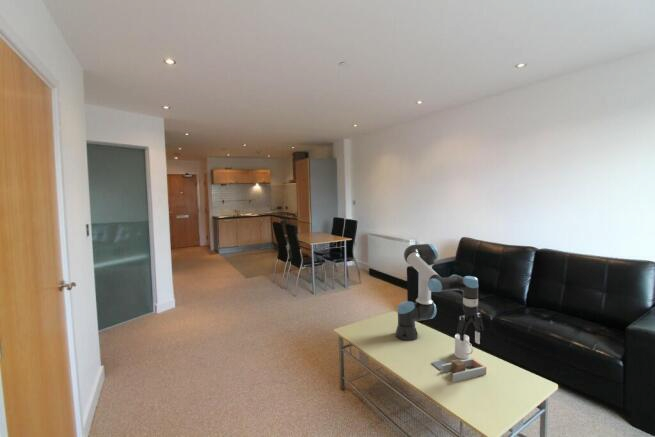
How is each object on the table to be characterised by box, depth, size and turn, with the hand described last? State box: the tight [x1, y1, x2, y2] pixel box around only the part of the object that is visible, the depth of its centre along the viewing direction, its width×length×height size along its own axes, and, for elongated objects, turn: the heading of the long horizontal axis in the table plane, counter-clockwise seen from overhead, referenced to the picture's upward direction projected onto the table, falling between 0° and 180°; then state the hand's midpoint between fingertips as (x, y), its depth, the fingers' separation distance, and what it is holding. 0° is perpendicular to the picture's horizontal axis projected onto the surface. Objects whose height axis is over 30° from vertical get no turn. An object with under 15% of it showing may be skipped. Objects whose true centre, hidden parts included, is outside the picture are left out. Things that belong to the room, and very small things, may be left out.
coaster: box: [430, 359, 448, 371], centre depth 183 cm, size 8×8×1 cm
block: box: [450, 358, 466, 375], centre depth 174 cm, size 5×5×7 cm
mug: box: [454, 333, 474, 360], centre depth 192 cm, size 12×8×12 cm
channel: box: [440, 357, 487, 383], centre depth 175 cm, size 10×21×4 cm, turn 108°
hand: (470, 344), depth 175 cm, fingers open, 9 cm apart
